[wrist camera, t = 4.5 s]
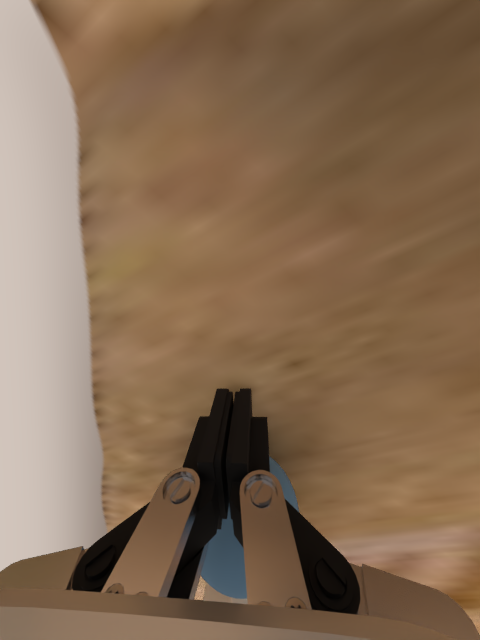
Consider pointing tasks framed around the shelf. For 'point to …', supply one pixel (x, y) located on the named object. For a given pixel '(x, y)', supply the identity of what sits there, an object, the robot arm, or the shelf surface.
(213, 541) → the ball
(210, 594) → the pin
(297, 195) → the shelf surface
